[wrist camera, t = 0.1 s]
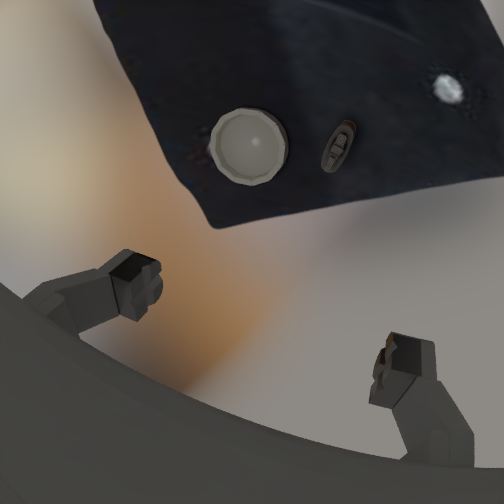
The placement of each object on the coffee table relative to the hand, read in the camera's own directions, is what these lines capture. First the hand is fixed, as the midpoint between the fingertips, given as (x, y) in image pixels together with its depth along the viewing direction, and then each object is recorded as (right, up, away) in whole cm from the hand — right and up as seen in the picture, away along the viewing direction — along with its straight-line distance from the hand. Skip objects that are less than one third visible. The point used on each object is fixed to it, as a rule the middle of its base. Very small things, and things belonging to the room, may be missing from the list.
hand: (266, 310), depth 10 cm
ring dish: (0, +22, +46) cm, 51 cm away
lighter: (+15, +21, +40) cm, 48 cm away
